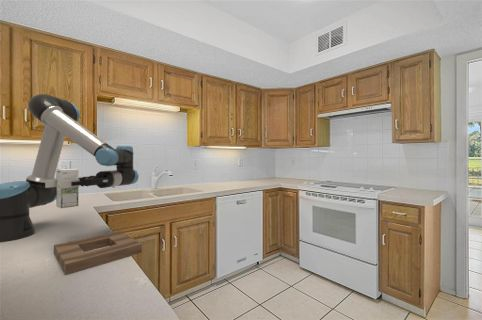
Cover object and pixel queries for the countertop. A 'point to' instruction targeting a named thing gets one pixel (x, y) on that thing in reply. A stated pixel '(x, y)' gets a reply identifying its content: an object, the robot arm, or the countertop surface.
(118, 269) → the countertop surface
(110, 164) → the robot arm
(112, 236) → the hole board
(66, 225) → the countertop surface
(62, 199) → the syrup box
